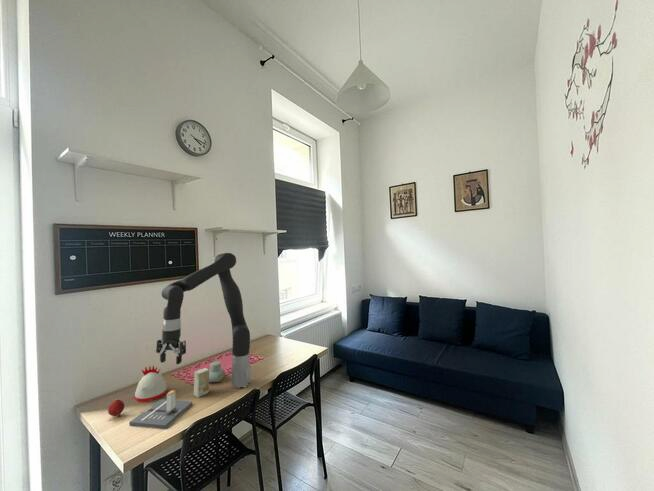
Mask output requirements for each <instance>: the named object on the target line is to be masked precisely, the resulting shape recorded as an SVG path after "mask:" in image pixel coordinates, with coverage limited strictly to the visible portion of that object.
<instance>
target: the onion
mask: <svg viewBox="0 0 654 491" xmlns="http://www.w3.org/2000/svg"><path fill="white" fill-rule="evenodd" d="M124 409H125V403H124V401H123V400H121V399H118V398H115V399H114V400H113V402H112V403H110V404H109V406H108V409H107V413H108V415H110V416H112V417H114V418H116V417H118V416H119V415H120V414H122V413H123V411H124Z"/></svg>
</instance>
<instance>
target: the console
mask: <svg viewBox="0 0 654 491" xmlns="http://www.w3.org/2000/svg"><path fill="white" fill-rule="evenodd" d="M175 406H176V408H175V409H174V410H173V411H172V412H171V413H169V414H165V412H166V408H167V399H165V398H164V399H163V398H160V399H159V400H158V401H156V402H155V403H154V404H152V405H151V406H149V407H148V408H147V409H145V410H144V411H142V412H141V413H140V414H138V415H137V416H135V417H134V418H133V419H132V420H129V424H128V425H129V426H130V427H140V428H141V427H142V428H152V429H163V430H166V429H167V428H168V427H169V426H170V425H172V424H173V423H174V422H175V421H176V420H177V419H178V418H180V416H181V415H183V414H184V413H185V411H187V410H189V409H190V408H191V407H192V406H193V401H190V400H189V401H187V400H177V399H175Z"/></svg>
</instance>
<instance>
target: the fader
mask: <svg viewBox="0 0 654 491" xmlns="http://www.w3.org/2000/svg"><path fill="white" fill-rule="evenodd" d="M166 400H167V408H166V412H165V414H169V413H171V412H172V411H173V410H174V409H175V408H176V406H175V400H176V390H170V391H169V392H166Z"/></svg>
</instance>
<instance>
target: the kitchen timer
mask: <svg viewBox="0 0 654 491" xmlns="http://www.w3.org/2000/svg"><path fill="white" fill-rule="evenodd" d="M141 372H142V374H143V376H142V377H141V379H140V380H139V381H138V382H137V385H136V390H135V393H134V400H135V401H136V402H139V403H147V402H151V401H155V400H158V399H159V398H160V399H161V397H163V396H164V395H165V394H167V389H168V388H167V383H166V381H165V378H164V376H163V375H162V374H161V373H160V372H161V368H159V369H158V366H157V367H155V366H154V365H153V366H152V367H151V365H150V366H149V367H148V368H147V366H145V368H144V370H143V369H141Z"/></svg>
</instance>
